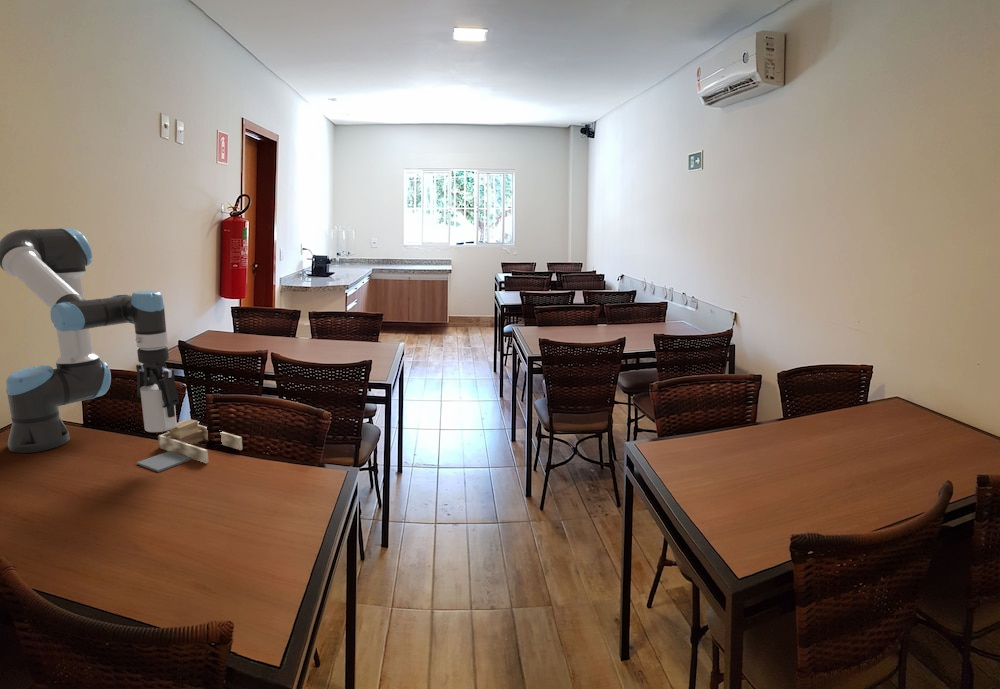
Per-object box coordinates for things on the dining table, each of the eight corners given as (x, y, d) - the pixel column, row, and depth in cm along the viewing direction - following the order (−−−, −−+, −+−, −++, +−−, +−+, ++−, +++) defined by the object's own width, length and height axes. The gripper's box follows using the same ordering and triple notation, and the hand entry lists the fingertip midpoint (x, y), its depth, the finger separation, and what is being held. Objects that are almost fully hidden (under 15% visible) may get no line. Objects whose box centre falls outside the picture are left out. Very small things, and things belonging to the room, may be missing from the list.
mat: (137, 464, 178) (136, 462, 177) (169, 452, 186) (169, 450, 186) (158, 472, 173) (158, 470, 173) (191, 459, 181) (191, 457, 181)
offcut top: (170, 436, 190) (169, 426, 189) (188, 429, 196) (187, 418, 195) (180, 438, 188) (179, 427, 188) (198, 431, 195) (197, 420, 194)
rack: (159, 447, 189) (157, 435, 188) (196, 435, 200) (195, 423, 199) (206, 463, 179) (204, 450, 178) (242, 449, 190) (241, 437, 189)
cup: (182, 423, 181) (179, 383, 178) (165, 433, 173) (161, 391, 170) (156, 421, 181) (152, 382, 179) (138, 431, 173) (133, 390, 171)
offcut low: (168, 447, 191) (167, 436, 190) (195, 438, 198) (194, 428, 197) (176, 450, 189) (175, 439, 188) (203, 441, 196) (202, 430, 195)
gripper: (116, 345, 173) (125, 421, 179) (163, 354, 164) (171, 435, 169) (142, 340, 180) (151, 414, 185) (189, 349, 170) (196, 427, 175)
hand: (160, 424), depth 177 cm, fingers closed on cup, 8 cm apart
